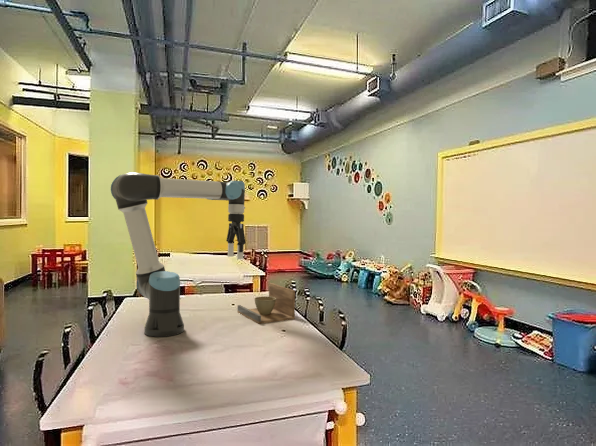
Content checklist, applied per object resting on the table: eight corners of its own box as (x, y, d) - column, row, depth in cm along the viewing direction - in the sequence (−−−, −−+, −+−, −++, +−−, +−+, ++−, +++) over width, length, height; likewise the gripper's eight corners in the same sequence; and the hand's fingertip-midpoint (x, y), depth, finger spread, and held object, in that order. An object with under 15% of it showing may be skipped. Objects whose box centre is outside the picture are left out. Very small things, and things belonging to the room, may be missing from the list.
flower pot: (274, 316, 189) (275, 300, 188) (253, 315, 189) (253, 300, 189) (276, 311, 199) (276, 296, 198) (255, 310, 199) (255, 296, 199)
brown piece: (258, 324, 179) (258, 294, 178) (237, 312, 199) (237, 285, 199) (294, 319, 188) (294, 290, 188) (270, 308, 209) (271, 282, 208)
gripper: (253, 213, 189) (252, 260, 189) (235, 213, 211) (234, 255, 211) (237, 213, 185) (236, 260, 185) (220, 213, 207) (219, 255, 207)
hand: (235, 257), depth 198 cm, fingers open, 13 cm apart
